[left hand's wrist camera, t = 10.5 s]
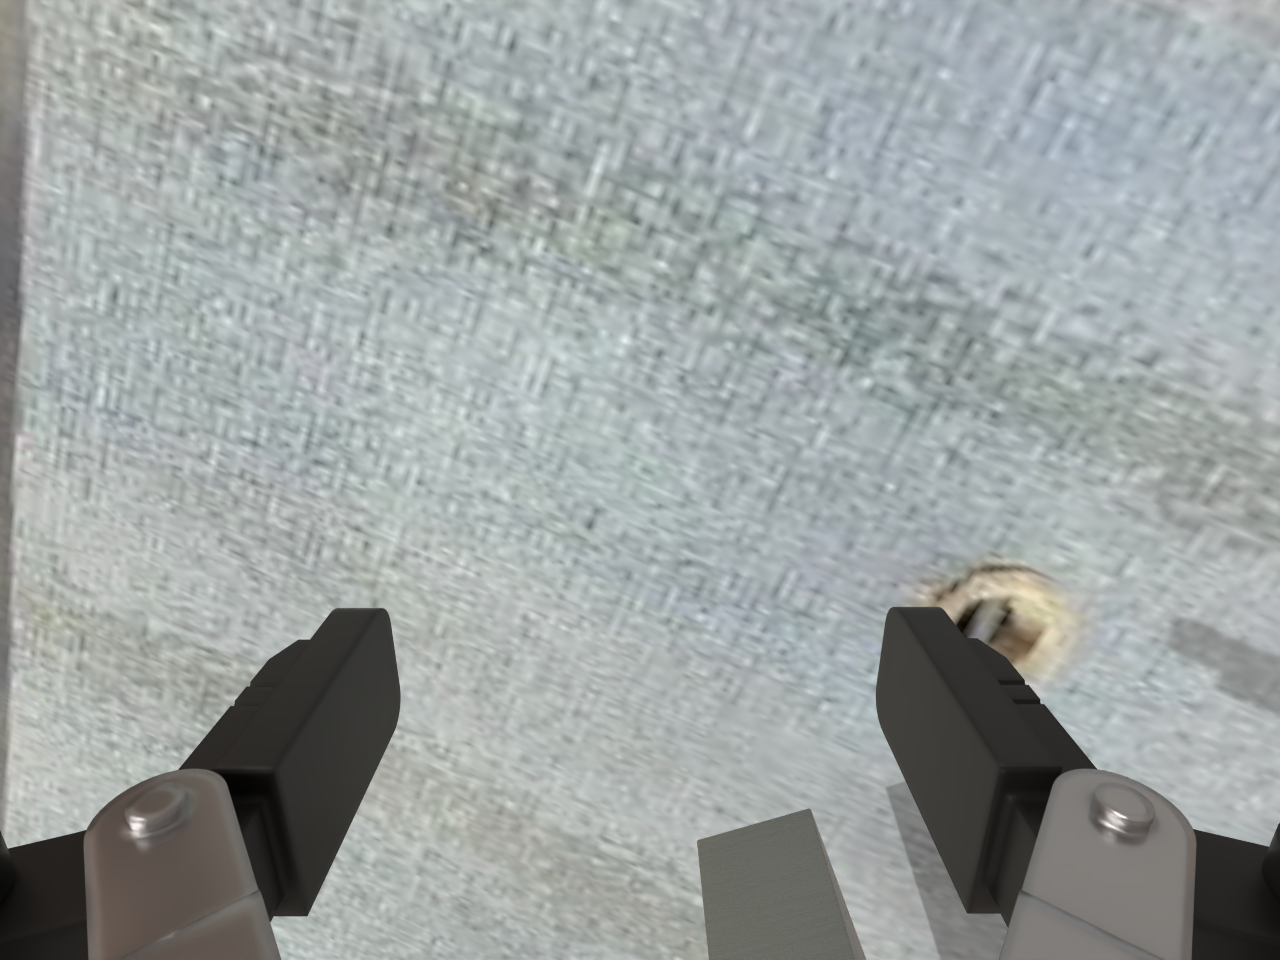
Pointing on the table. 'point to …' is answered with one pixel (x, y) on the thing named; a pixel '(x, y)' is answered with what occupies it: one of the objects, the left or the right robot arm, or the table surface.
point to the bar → (774, 894)
